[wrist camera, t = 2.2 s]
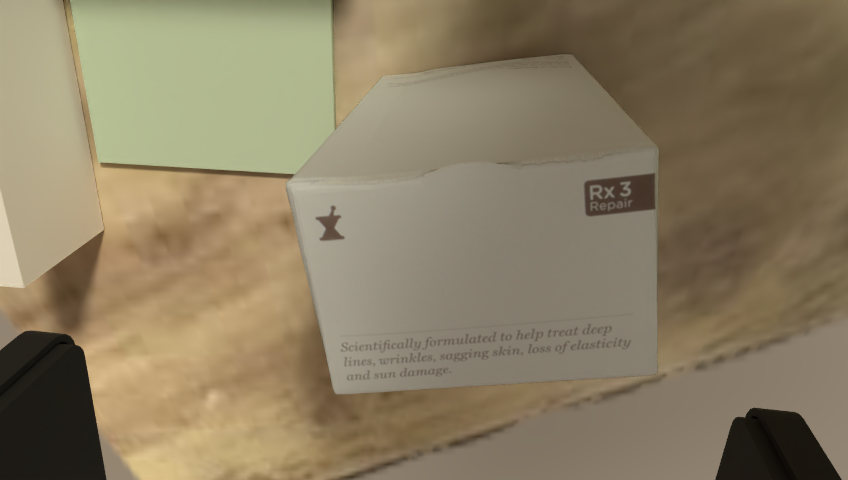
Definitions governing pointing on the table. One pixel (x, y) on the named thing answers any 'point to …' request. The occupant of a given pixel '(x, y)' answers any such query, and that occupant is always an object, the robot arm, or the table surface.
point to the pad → (208, 81)
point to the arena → (41, 145)
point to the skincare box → (482, 231)
